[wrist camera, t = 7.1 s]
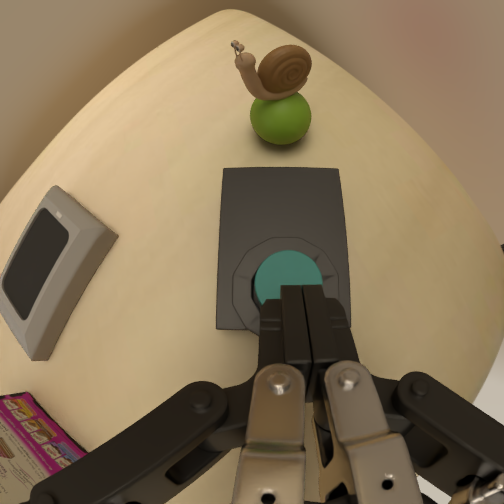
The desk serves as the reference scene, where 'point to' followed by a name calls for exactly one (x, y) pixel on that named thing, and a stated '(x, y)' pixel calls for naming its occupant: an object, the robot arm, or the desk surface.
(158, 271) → the desk surface
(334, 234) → the black button base
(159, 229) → the desk surface
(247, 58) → the snail figurine
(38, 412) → the candy bar box
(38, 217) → the grey bevelled block
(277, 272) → the push button
